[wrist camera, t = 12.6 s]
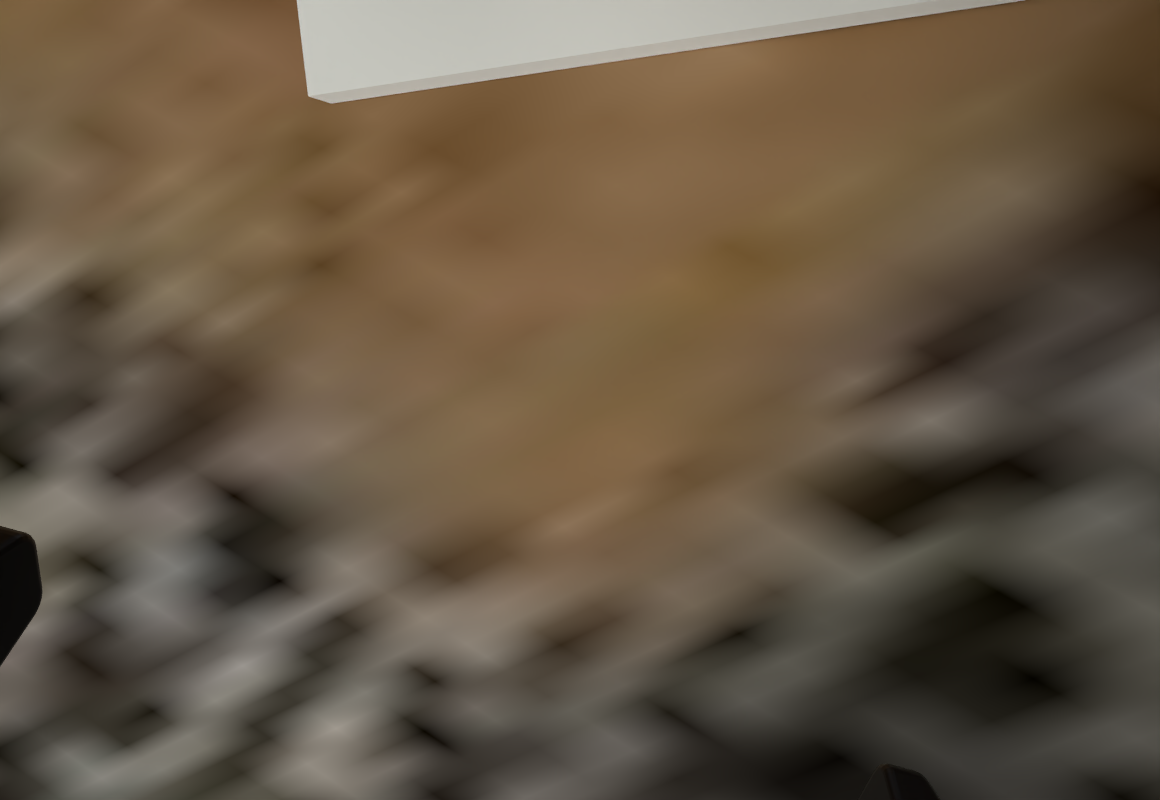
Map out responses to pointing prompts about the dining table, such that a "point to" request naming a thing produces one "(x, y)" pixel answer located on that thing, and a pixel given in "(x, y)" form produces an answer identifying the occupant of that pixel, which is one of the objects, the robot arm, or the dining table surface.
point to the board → (545, 35)
